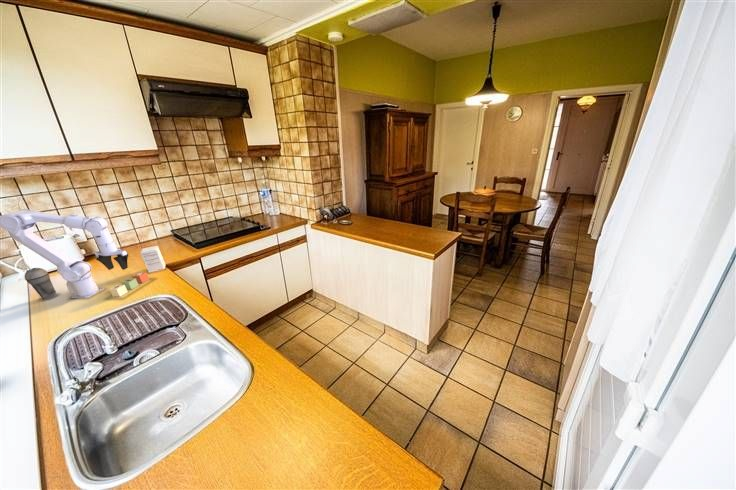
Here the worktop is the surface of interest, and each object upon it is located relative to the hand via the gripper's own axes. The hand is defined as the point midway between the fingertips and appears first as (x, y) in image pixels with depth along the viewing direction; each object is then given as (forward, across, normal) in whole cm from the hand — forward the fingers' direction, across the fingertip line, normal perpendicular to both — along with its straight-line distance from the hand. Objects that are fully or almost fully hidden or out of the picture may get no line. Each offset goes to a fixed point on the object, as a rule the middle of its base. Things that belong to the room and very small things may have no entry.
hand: (118, 268), depth 129 cm
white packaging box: (+11, 0, -19) cm, 22 cm away
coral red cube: (+10, -4, -5) cm, 12 cm away
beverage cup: (+10, +32, +9) cm, 35 cm away
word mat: (+10, -4, +1) cm, 11 cm away
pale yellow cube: (+10, -4, +7) cm, 13 cm away
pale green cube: (+10, -4, +1) cm, 11 cm away
